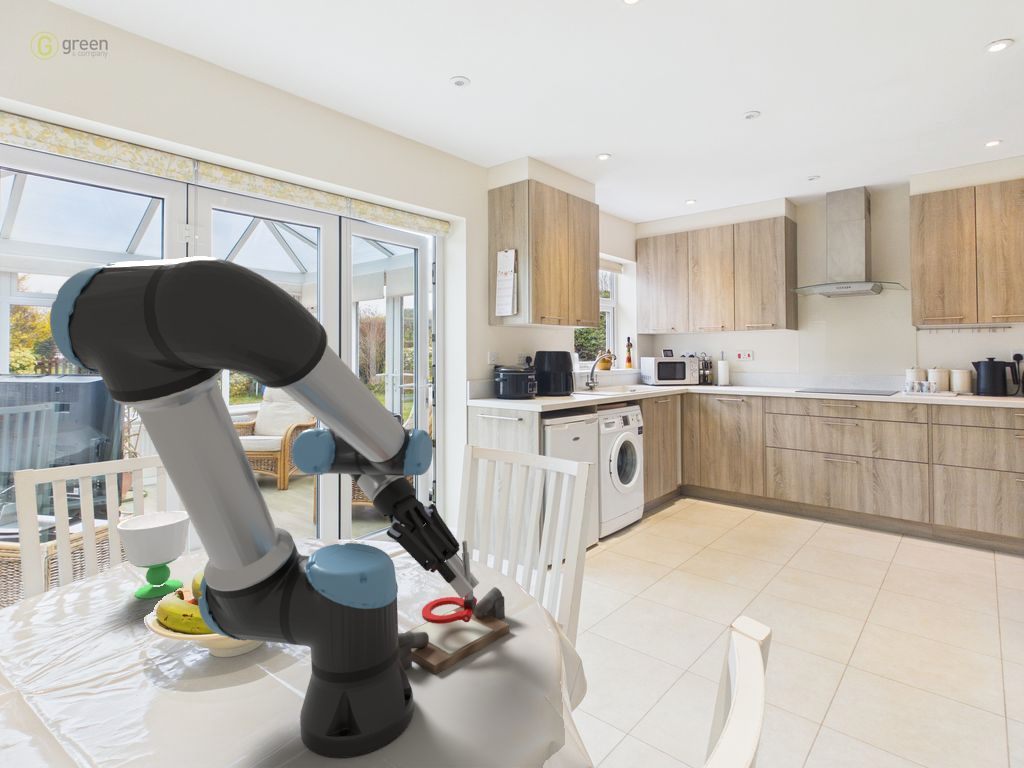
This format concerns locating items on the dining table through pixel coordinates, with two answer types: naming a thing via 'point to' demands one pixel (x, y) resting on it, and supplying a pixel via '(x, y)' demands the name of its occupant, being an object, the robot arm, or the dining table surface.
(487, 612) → the shaft stand
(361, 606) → the robot arm
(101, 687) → the dining table surface
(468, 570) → the tow hook
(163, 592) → the cup
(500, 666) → the dining table surface
